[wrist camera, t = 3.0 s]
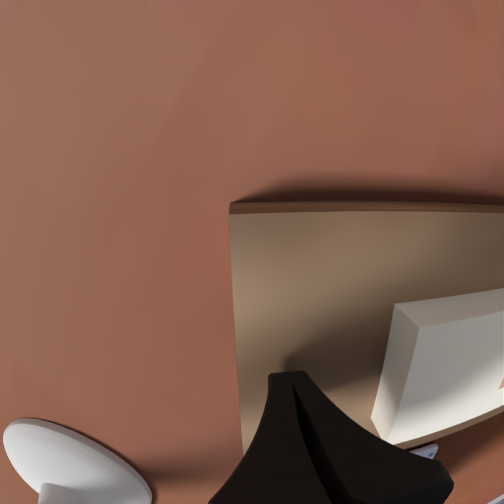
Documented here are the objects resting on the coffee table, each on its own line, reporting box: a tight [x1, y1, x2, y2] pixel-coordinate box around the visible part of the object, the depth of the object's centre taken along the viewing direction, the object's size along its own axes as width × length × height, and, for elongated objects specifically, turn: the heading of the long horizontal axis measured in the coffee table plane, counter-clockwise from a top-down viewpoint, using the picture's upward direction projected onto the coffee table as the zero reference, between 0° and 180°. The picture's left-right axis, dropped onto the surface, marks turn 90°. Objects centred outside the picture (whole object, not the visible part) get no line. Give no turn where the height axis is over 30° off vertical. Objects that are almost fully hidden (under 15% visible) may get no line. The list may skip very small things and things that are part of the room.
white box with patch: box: [371, 288, 504, 445], centre depth 11 cm, size 9×6×2 cm, turn 92°
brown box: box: [229, 201, 504, 457], centre depth 14 cm, size 13×18×3 cm
